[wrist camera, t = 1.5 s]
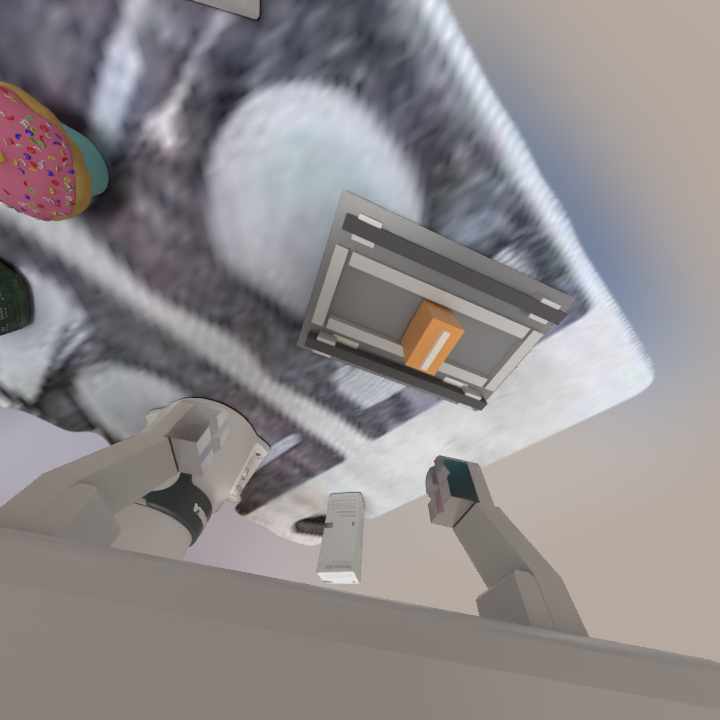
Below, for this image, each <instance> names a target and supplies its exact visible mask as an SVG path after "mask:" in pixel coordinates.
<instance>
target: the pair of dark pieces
mask: <svg viewBox="0 0 720 720" xmlns="http://www.w3.org/2000/svg"><path fill="white" fill-rule="evenodd" d="M342 229H343V230H345V231H347V232H349V233H352V234H354V235H356V236H358V237H361V238H363V239H365V240H367V241H370V242H372V243H374V244H376V245H379V246H381V247H383V248H385V249H388V250H390V251H392V252H394V253H397V254H399V255H401V256H403V257H406V258H408V259H410V260H412V261H414V262H417V263H419V264H421V265H423V266H426V267H428V268H430V269H432V270H435V271H437V272H439V273H441V274H444V275H446V276H448V277H450V278H453V279H455V280H457V281H459V282H462V283H464V284H466V285H468V286H471V287H473V288H475V289H477V290H480V291H482V292H484V293H486V294H489V295H491V296H493V297H495V298H498V299H500V300H502V301H504V302H506V303H509V304H511V305H513V306H515V307H518V308H520V309H522V310H524V311H527V312H529V313H531V314H533V315H536V316H538V317H540V318H542V319H545V320H547V321H549V322H551V323H554V324H556V325H558V324H559V323H560V322H561V321H562V320H563V319H564V318H565V317H566V315H567V314H566V313H564V312H563V311H561V310H557V309H555V308H553V307H550V306H548V305H546V304H544V303H542V302H540V301H538V300H536V299H535V298H533V297H531V296H528V295H526V294H524V293H522V292H520V291H517V290H515V289H513V288H511V287H509V286H506V285H504V284H502V283H500V282H498V281H496V280H493V279H491V278H489V277H487V276H485V275H482V274H480V273H478V272H476V271H474V270H471V269H469V268H467V267H465V266H463V265H461V264H458V263H456V262H454V261H452V260H450V259H447V258H445V257H443V256H441V255H439V254H437V253H434V252H432V251H430V250H428V249H426V248H423V247H421V246H419V245H417V244H415V243H412V242H410V241H408V240H406V239H404V238H402V237H399V236H397V235H395V234H393V233H391V232H388V231H386V230H384V229H382V228H381V229H380V228H377V227H375V226H373V225H371V224H369V223H366V222H364V221H362V220H360V219H358V217H356V216H353V215H351V214H349V213H346V216H345V220H344V223H343V226H342ZM317 337H318V335H317V334H314V333H312V332H309V334H308V336H307V339H306V342H305V345H304V346H306V347H308V348H311V349H314V350H317V351H319V352H322V353H325V354H327V355H330V356H333V357H336V358H338V359H341V360H344V361H347V362H349V363H352V364H355V365H358V366H360V367H363V368H366V369H368V370H371V371H374V372H377V373H379V374H382V375H385V376H388V377H390V378H393V379H396V380H399V381H401V382H404V383H407V384H410V385H412V386H415V387H418V388H420V389H423V390H426V391H429V392H431V393H434V394H437V395H440V396H442V397H445V398H448V399H451V400H453V401H456V402H459V403H461V404H464V405H467V406H470V407H472V408H475V409H478V410H482V409H483V408H484V407H485V406H486V405H487V402H486V400H485V398H484V397H482V396H481V397H482V398H481V400H477V399H475V398H472V397H469V396H467V395H465V394H464V392H463V390H462V389H461V388H458V387H456V386H453V385H450V384H448V383H445V382H442V381H440V380H437V379H434V378H432V377H429V376H426V375H424V374H421V373H418V372H416V371H413V370H410V369H408V368H405V367H402V366H400V365H397V364H394V363H392V362H389V361H386V360H384V359H381V358H378V357H376V356H373V355H370V354H368V353H365V352H362V351H360V350H357V349H354V348H352V347H349V346H346V345H344V344H341V343H338V342H336V344H335V346H332V345H330V344H327V343H324V342H321V341H319V340H317Z"/></svg>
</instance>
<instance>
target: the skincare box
mask: <svg viewBox="0 0 720 720" xmlns="http://www.w3.org/2000/svg"><path fill="white" fill-rule="evenodd" d="M364 509H365V504H364V501H363V499H362V496H361V493H338V494H331V495H330V498H329V504H328V510H327V516H326V521H325V527H324V533H323V539H322V544H321V550H320V556H319V561H318V567H317V574H318V575H319V577H320V578H321V579H322V580H323V581H324V583H338V584H347V583H358V584H359V583H360V581H361V562H362V546H363V528H364V526H363V525H364Z"/></svg>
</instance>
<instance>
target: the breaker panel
mask: <svg viewBox="0 0 720 720" xmlns="http://www.w3.org/2000/svg"><path fill="white" fill-rule="evenodd" d="M346 213H349V214H351V215H353V216H356V217H358V219H360V220H362V221H364V222H366V223H369V224H371V225H373V226H375V227H377V228H380V229H381V228H382V229H384V230H386V231H388V232H391V233H393V234H395V235H397V236H399V237H402V238H404V239H406V240H408V241H410V242H412V243H415V244H417V245H419V246H421V247H423V248H426V249H428V250H430V251H432V252H434V253H437V254H439V255H441V256H443V257H445V258H447V259H450V260H452V261H454V262H456V263H458V264H461V265H463V266H465V267H467V268H469V269H471V270H474V271H476V272H478V273H480V274H482V275H485V276H487V277H489V278H491V279H493V280H496V281H498V282H500V283H502V284H504V285H506V286H509V287H511V288H513V289H515V290H517V291H520V292H522V293H524V294H526V295H528V296H531V297H533V298H535V299H536V300H538V301H540V302H542V303H544V304H546V305H548V306H550V307H553V308H555V309H557V310H561V311H563V312H565V311H566V310H567V309H568V308H569V306H570V305H571V304H572V303H573V302H574V301H575V300H576V299H575V298H573V297H571V296H569V295H567V294H564V293H562V292H560V291H558V290H556V289H554V288H552V287H550V286H547V285H545V284H543V283H541V282H539V281H537V280H535V279H533V278H530V277H528V276H526V275H524V274H522V273H520V272H518V271H516V270H513V269H511V268H509V267H507V266H505V265H503V264H501V263H499V262H496V261H494V260H492V259H490V258H488V257H486V256H484V255H482V254H479V253H477V252H475V251H473V250H471V249H469V248H467V247H465V246H462V245H460V244H458V243H456V242H454V241H452V240H450V239H448V238H445V237H443V236H441V235H439V234H437V233H435V232H433V231H431V230H428V229H426V228H424V227H422V226H420V225H418V224H416V223H413V222H411V221H409V220H407V219H405V218H403V217H401V216H399V215H396V214H394V213H392V212H390V211H388V210H386V209H384V208H382V207H379V206H377V205H375V204H373V203H371V202H369V201H367V200H365V199H362V198H360V197H358V196H356V195H354V194H352V193H350V192H348V191H345V190H343V191H342V195H341V198H340V201H339V205H338V208H337V212H336V215H335V218H334V222H333V225H332V228H331V232H330V235H329V238H328V242H327V245H326V248H325V252H324V255H323V258H322V262H321V265H320V268H319V272H318V275H317V278H316V282H315V285H314V288H313V292H312V295H311V298H310V302H309V305H308V309H307V312H306V315H305V319H304V322H303V325H302V329H301V332H300V335H299V339H298V342H297V345H296V346H298V347H301V348H304V349H307V350H309V351H312V352H314V353H317V354H320V355H323V356H325V357H328V358H331V359H334V360H337V361H340V362H342V363H345V364H348V365H351V366H353V367H356V368H359V369H362V370H364V371H367V372H370V373H373V374H375V375H378V376H381V377H384V378H386V379H389V380H392V381H395V382H397V383H400V384H403V385H405V386H408V387H411V388H414V389H416V390H419V391H422V392H425V393H427V394H430V395H433V396H436V397H438V398H441V399H444V400H447V401H449V402H452V403H455V404H457V405H460V406H463V407H465V408H468V409H471V410H474V411H477V410H478V409H475V408H472V407H470V406H467V405H464V404H461V403H459V402H456V401H453V400H451V399H448V398H445V397H442V396H440V395H437V394H434V393H431V392H429V391H426V390H423V389H420V388H418V387H415V386H412V385H410V384H407V383H404V382H401V381H399V380H396V379H393V378H390V377H388V376H385V375H382V374H379V373H377V372H374V371H371V370H368V369H366V368H363V367H360V366H358V365H355V364H352V363H349V362H347V361H344V360H341V359H338V358H336V357H333V356H330V355H327V354H325V353H322V352H319V351H317V350H314V349H311V348H308V347H306V346H304V345H305V342H306V339H307V336H308V334H309V332H312V333H314V334H317V335H318V337H317V340H319V341H321V342H324V343H327V344H330V345H332V346H335V344H336V342H338V343H341V344H344V345H346V346H349V347H352V348H354V349H357V350H360V351H362V352H365V353H368V354H370V355H373V356H376V357H378V358H381V359H384V360H386V361H389V362H392V363H394V364H397V365H400V366H402V367H405V368H408V369H410V370H413V371H416V372H418V373H421V374H424V375H426V376H429V377H432V378H434V379H437V380H440V381H442V382H445V383H448V384H450V385H453V386H456V387H458V388H461V389H462V390H463V392H464V394H465V395H467V396H469V397H472V398H475V399H477V400H481V398H482V397H484V398H485V400H487V399H488V398H489V397H490V396H491V395H492V394H493V392H494V391H495V390H496V389H497V388H498V387H499V386H500V384H501V383H502V382H503V381H504V380H505V379H506V378H507V377H508V375H509V374H510V373H511V372H512V371H513V370H514V369H515V367H516V366H517V365H518V364H519V363H520V362H521V361H522V360H523V358H524V357H525V356H526V355H527V354H528V353H529V352H530V351H531V349H532V348H533V347H534V346H535V345H536V344H537V343H538V341H539V340H540V339H541V338H542V337H543V336H544V335H545V334H546V332H547V331H548V330H549V329H550V328H551V327H552V326H553V324H554V323H551V322H549V321H547V320H545V319H542V318H540V317H538V316H536V315H533V314H531V313H529V312H527V311H524V310H522V309H520V308H518V307H515V306H513V305H511V304H509V303H506V302H504V301H502V300H500V299H498V298H495V297H493V296H491V295H489V294H486V293H484V292H482V291H480V290H477V289H475V288H473V287H471V286H468V285H466V284H464V283H462V282H459V281H457V280H455V279H453V278H450V277H448V276H446V275H444V274H441V273H439V272H437V271H435V270H432V269H430V268H428V267H426V266H423V265H421V264H419V263H417V262H414V261H412V260H410V259H408V258H406V257H403V256H401V255H399V254H397V253H394V252H392V251H390V250H388V249H385V248H383V247H381V246H379V245H376V244H374V243H372V242H370V241H367V240H365V239H363V238H361V237H358V236H356V235H354V234H352V233H349V232H347V231H345V230H343V229H342V226H343V223H344V220H345V216H346ZM423 299H426V300H428V301H431V302H433V303H435V304H438V305H440V306H442V307H445V308H447V309H450V310H451V312H452V313H453V314H454V316H455V317H456V319H457V320H458V322H459V323H460V325H461V326H462V328H463V329H464V331H465V332H464V333H463V334H462V336H461V337H460V339H459V340H458V342H457V343H456V345H455V346H454V348H453V349H452V350H451V352H450V353H449V355H448V356H447V358H446V359H445V361H444V362H443V364H442V365H441V366H440V368H439V369H438V371H437V372H436V374H435V375H434V376H433V375H431V374H428V373H426V372H423V371H420V370H418V369H415V368H412V367H410V366H407V365H405V361H404V355H403V349H402V343H401V339H402V337H403V336H404V334H405V332H406V330H407V328H408V326H409V325H410V323H411V321H412V319H413V317H414V315H415V314H416V312H417V310H418V308H419V306H420V304H421V303H422V301H423ZM481 396H482V397H481Z"/></svg>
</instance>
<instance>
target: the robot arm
mask: <svg viewBox="0 0 720 720" xmlns="http://www.w3.org/2000/svg"><path fill="white" fill-rule="evenodd" d="M145 419H146V422H147V424H148V425H147V426H146V427H145V428H144V430H143V431H142V432H141V433H140V434H138V435H135V436H133V437H130V438H128V439H126V440H123V441H121V442H118V443H116V444H114V445H111V446H109V447H106V448H104V449H102V450H99V451H97V452H94V453H92V454H90V455H87V456H85V457H82V458H80V459H78V460H75V461H73V462H70V463H68V464H66V465H63V466H61V467H58V468H56V469H53V470H51V471H49V472H46V473H44V474H42V475H41V476H40V477H38V478H37V479H36V480H34V481H33V482H32V483H31V484H30V485H28V486H27V487H26V488H24V489H23V490H22V491H21V492H20V493H18V494H17V495H16V496H14V497H13V498H12V499H11V500H9V501H8V502H7V503H6V504H4V505H3V506H2V507H1V508H0V720H720V663H718V662H715V661H712V660H708V659H703V658H697V657H693V656H687V655H682V654H676V653H671V652H666V651H660V650H655V649H650V648H645V647H639V646H634V645H629V644H623V643H618V642H613V641H607V640H602V639H596V638H591V637H589V635H588V634H587V631H586V629H585V627H584V625H583V623H582V620H581V618H580V616H579V614H578V612H577V610H576V608H575V606H574V603H573V601H572V599H571V597H570V595H569V593H568V591H567V589H566V586H565V584H564V582H563V580H562V578H561V577H560V576H559V574H558V573H557V572H556V571H555V570H554V569H553V568H552V567H551V565H550V564H549V563H548V562H547V561H546V560H545V559H544V558H543V556H542V555H541V554H540V553H539V552H538V551H537V550H536V549H535V547H534V546H533V545H532V544H531V543H530V542H529V541H528V540H527V539H526V538H525V536H524V535H523V534H522V533H521V532H520V531H519V530H518V528H517V527H516V526H515V525H514V524H513V523H512V522H511V521H510V520H509V518H508V517H507V516H506V515H505V514H504V513H503V512H502V510H501V509H500V508H499V507H495V506H494V503H493V501H492V498H491V495H490V492H489V490H488V487H487V484H486V482H485V479H484V476H483V473H482V471H481V468H480V466H479V465H478V464H477V463H473V462H468V461H463V460H460V459H455V458H450V457H445V456H440V455H439V456H438V457H436V459H435V460H434V463H435V466H433V467H431V468H430V469H429V471H428V472H427V476H426V493H427V494H428V495H429V497H430V498H431V500H430V502H429V504H428V507H429V514H430V520H431V523H433V524H438V525H442V526H446V527H451V528H453V531H454V532H455V534H456V536H457V537H458V539H459V541H460V542H461V544H462V546H463V547H464V549H465V551H466V552H467V554H468V556H469V557H470V559H471V561H472V562H473V564H474V566H475V567H476V569H477V571H478V572H479V574H480V576H481V577H482V579H483V581H484V582H485V584H486V586H487V587H488V590H486V591H485V592H484V593H482V594H481V595H479V596H478V598H477V599H476V602H477V607H478V611H479V616H474V615H469V614H464V613H458V612H453V611H448V610H442V609H437V608H432V607H426V606H421V605H416V604H410V603H405V602H400V601H395V600H389V599H384V598H378V597H373V596H368V595H362V594H357V593H352V592H347V591H341V590H336V589H331V588H325V587H320V586H315V585H309V584H304V583H298V582H293V581H288V580H282V579H277V578H272V577H267V576H261V575H256V574H251V573H246V572H240V571H235V570H229V569H224V568H219V567H214V566H208V565H202V564H197V563H192V562H187V561H182V559H183V557H184V555H185V553H186V551H187V550H188V548H189V547H190V546H191V545H193V544H194V543H195V542H196V540H197V538H198V537H199V536H200V535H201V534H202V532H203V530H204V529H205V527H206V524H207V522H208V521H209V519H210V517H211V515H212V514H213V513H215V512H217V511H218V510H219V509H220V508H221V506H222V504H223V503H224V501H225V500H228V501H230V502H233V503H236V502H237V500H238V498H239V496H240V494H241V492H242V490H243V488H244V487H245V485H246V484H247V482H248V481H249V479H250V478H251V477H252V475H253V474H254V472H255V471H256V470H257V468H258V467H259V465H260V464H261V462H262V461H263V460H264V458H265V457H266V455H267V454H268V452H269V450H270V447H269V446H268V444H266V443H265V442H264V441H263V440H262V439H260V438H259V437H258V436H257V435H256V433H255V432H254V430H253V428H252V427H251V425H250V424H249V423H248V422H247V421H246V420H245V419H244V418H243V417H242V416H241V415H240V414H238V413H237V412H236V411H234V410H232V409H231V408H229V407H227V406H225V405H223V404H220V403H218V402H215V401H211V400H207V399H201V398H185V399H181V400H178V401H175V402H173V403H172V404H171V405H169V406H168V407H166V408H162V409H155V410H151V411H150V412H149V413H148V414H147V415H146V417H145Z"/></svg>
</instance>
